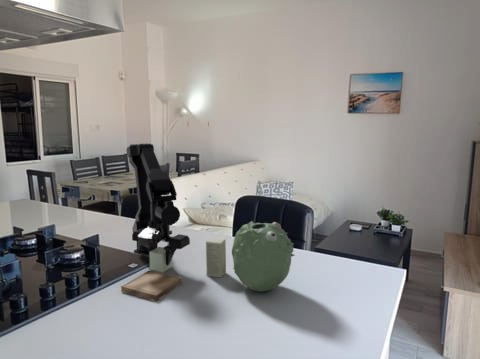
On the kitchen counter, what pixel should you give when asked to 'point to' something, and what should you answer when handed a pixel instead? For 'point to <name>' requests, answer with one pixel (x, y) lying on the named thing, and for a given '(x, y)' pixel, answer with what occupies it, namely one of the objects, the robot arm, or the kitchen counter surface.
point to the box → (216, 257)
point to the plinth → (151, 285)
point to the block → (159, 260)
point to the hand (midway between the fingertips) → (161, 263)
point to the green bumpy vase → (262, 255)
